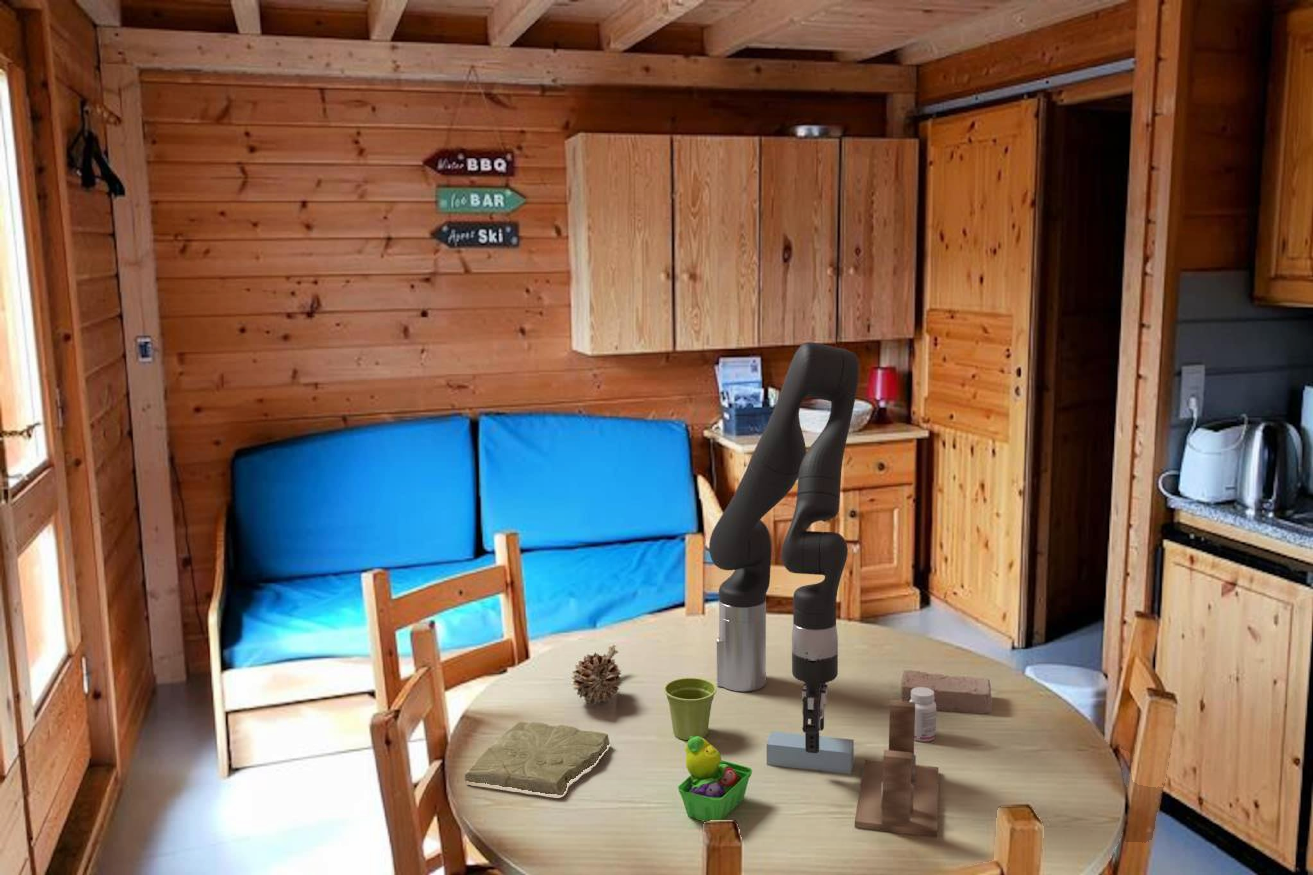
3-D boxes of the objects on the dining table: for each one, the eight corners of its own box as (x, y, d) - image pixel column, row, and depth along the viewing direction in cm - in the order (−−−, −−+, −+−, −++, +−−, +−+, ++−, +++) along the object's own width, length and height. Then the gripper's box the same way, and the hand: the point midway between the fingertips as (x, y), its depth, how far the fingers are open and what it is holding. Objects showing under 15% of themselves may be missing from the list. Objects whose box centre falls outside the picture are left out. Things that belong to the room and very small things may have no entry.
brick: (989, 697, 209) (990, 674, 208) (992, 716, 201) (993, 692, 200) (901, 691, 213) (901, 668, 212) (900, 709, 205) (900, 685, 204)
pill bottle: (937, 732, 194) (939, 688, 193) (932, 744, 190) (934, 698, 189) (910, 728, 196) (912, 684, 195) (905, 739, 192) (906, 694, 191)
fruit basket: (719, 831, 164) (719, 762, 162) (669, 816, 168) (668, 748, 166) (754, 798, 173) (754, 731, 171) (705, 784, 178) (705, 719, 176)
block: (850, 775, 180) (851, 753, 180) (766, 766, 184) (766, 744, 183) (853, 761, 185) (853, 739, 184) (771, 752, 189) (771, 731, 188)
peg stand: (854, 827, 164) (855, 753, 162) (864, 764, 183) (865, 697, 181) (936, 837, 161) (939, 761, 159) (938, 772, 180) (940, 704, 178)
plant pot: (727, 732, 196) (727, 686, 194) (693, 750, 189) (692, 703, 188) (688, 717, 202) (688, 673, 201) (653, 734, 196) (652, 689, 194)
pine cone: (618, 718, 202) (617, 668, 200) (567, 717, 203) (565, 667, 201) (631, 671, 224) (630, 625, 222) (585, 670, 225) (583, 624, 223)
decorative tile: (463, 787, 179) (462, 767, 178) (518, 734, 198) (517, 716, 197) (568, 805, 173) (567, 784, 172) (614, 749, 191) (614, 730, 191)
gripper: (796, 632, 189) (797, 720, 191) (786, 663, 175) (787, 757, 178) (840, 635, 187) (840, 724, 190) (834, 666, 173) (834, 761, 176)
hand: (814, 740), depth 184 cm, fingers open, 8 cm apart
